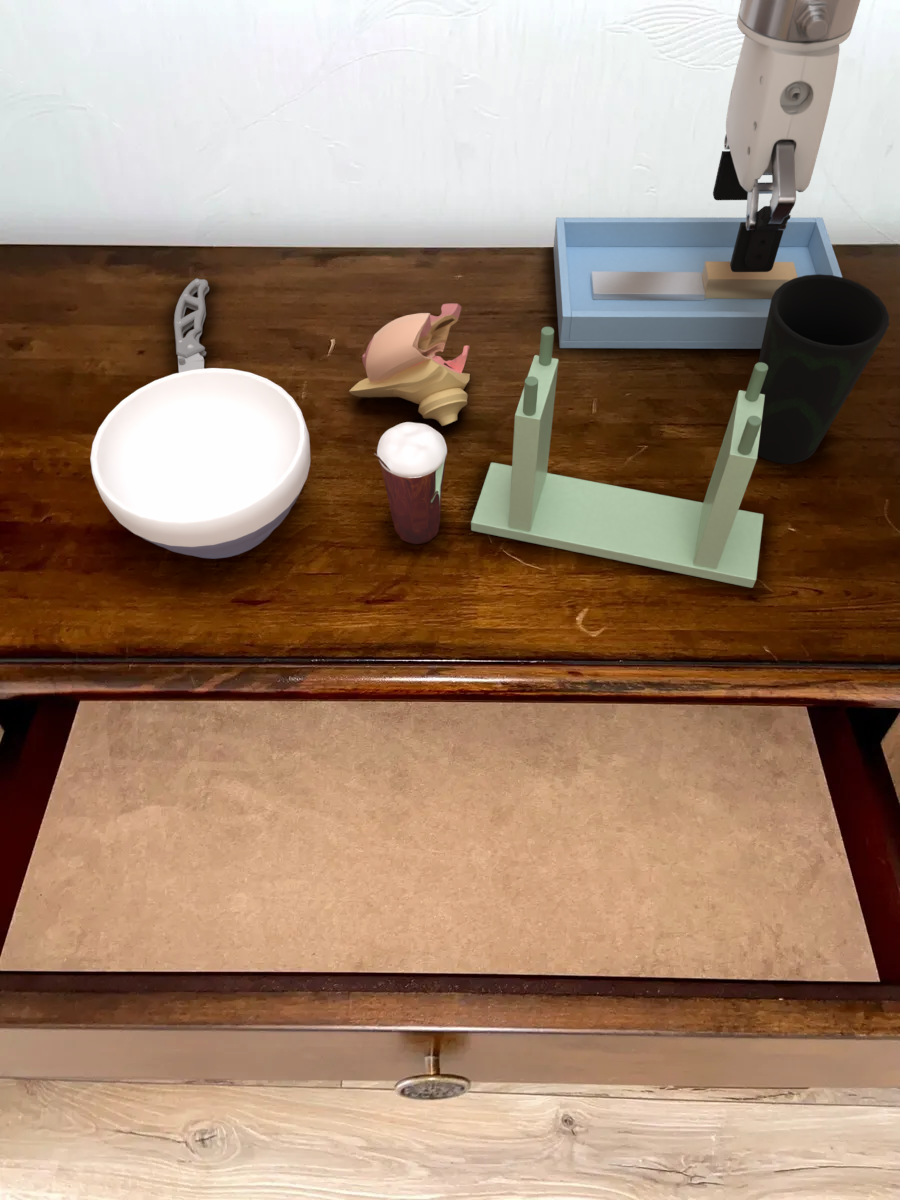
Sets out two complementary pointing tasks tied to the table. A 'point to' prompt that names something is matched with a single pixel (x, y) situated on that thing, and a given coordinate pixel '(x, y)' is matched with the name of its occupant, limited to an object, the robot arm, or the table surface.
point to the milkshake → (413, 478)
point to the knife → (189, 346)
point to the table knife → (692, 283)
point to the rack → (626, 495)
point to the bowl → (203, 461)
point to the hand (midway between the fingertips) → (740, 232)
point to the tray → (668, 251)
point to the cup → (814, 359)
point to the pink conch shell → (417, 365)
